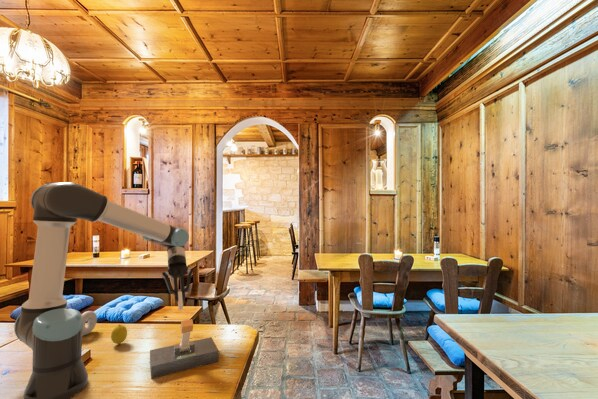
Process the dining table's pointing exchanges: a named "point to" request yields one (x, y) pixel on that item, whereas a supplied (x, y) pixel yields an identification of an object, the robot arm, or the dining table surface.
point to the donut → (91, 322)
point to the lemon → (119, 334)
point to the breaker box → (182, 357)
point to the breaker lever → (186, 333)
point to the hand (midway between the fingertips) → (180, 307)
